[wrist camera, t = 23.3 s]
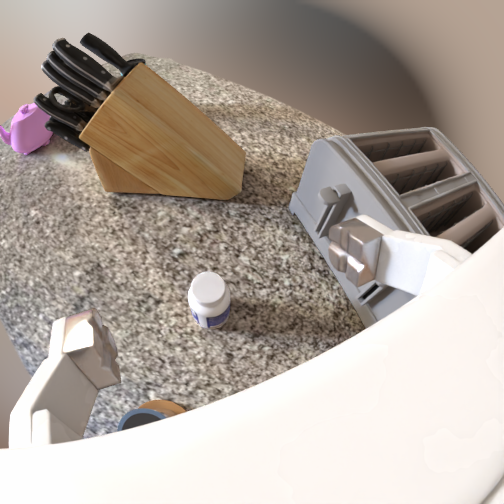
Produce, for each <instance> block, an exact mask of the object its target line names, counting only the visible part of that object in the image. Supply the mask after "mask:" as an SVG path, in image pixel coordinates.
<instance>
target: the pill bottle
mask: <svg viewBox="0 0 504 504" xmlns="http://www.w3.org/2000/svg"><path fill="white" fill-rule="evenodd" d="M230 300H231V296H230V291H229V288H228V287H227V285H226V284H225V282H224V280H223V278H222V277H221V276H220V275H218V274H217V273H214V272H202V273H200V274H198V275H197V276H196V277H195V278H194V279H193V281H192V284H191V287H190V289H189V293H188V301H189V305H190V308H191V312H192V315H193V318H194V320H195V321H196V322H197V324H199V325H200V326H201V327H203V328H206V329H216V328H219V327H221V326H222V325H224V324H225V323H226V321H227V320H228V317H229V313H230Z"/></svg>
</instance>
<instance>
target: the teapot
mask: <svg viewBox="0 0 504 504" xmlns="http://www.w3.org/2000/svg"><path fill="white" fill-rule="evenodd" d="M49 118H50V116H49V115H48V114H46V113H45V112H44V111H42V110H41V109H40V108H39V107H38V106H37V105H36V104H35V103H33V104H30V105H28V104H25V105H23V106H22V107H21V108H20V109H19V112H18V113H17V114H16V115H15V116H14V117H13V119H12V123H11V130H10V133H7V132H6V131H5V130H4V129H3V127H2V126H1V125H0V136H1V138H2V140H3V141H4V142H5V143H6V144H8V145H12V148H13V149H14V150H15V151H16V152H19V153H25V155H28V154H29V153H30V152H31V151H34V150H36V149H37V148H39V147H40V146H42V145H43V146H45V145H47V144H48V143H49V142H50V140H49V139H50V137H51V136H52V135H53V132H51V131H48V130H47V129H46V128H45V126H44V125H45V123H46V122H47V121H49Z"/></svg>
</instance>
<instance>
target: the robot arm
mask: <svg viewBox="0 0 504 504" xmlns="http://www.w3.org/2000/svg"><path fill="white" fill-rule="evenodd" d="M329 238H330V239H331V241H332V242H331V244H330V246H329V247H328V256H329V259H330V262H331V264H332V265H333V267H334V268H335V269H336V270H337V271H339V272H343V273H345V275H346V278H347V279H348V280H349V281H350V282H351V283H353V284H354V285H355V286H356V287H357V288H358V287H360V286H362V285H365V284H367V283H369V282H371V281H373V280H375V281H378V282H381V283H383V284H386V285H389V286H391V287H394V288H397V289H400V290H402V291H405V292H408V293H411V294H413V295H416V297H415V298H413V299H412V300H411V301H409V302H408V303H406V304H405V305H403V306H402V307H400V308H399V309H397V310H396V311H394V312H392V313H391V314H389V315H388V316H386V317H385V318H383V319H381V320H380V321H378V322H377V323H375V324H373V325H372V326H370V327H368V328H367V329H365V330H363V331H362V332H360V333H358V334H357V335H355V336H353V337H351V338H350V339H348V340H346V341H344V342H343V343H341V344H339V345H337V346H335V347H333V348H332V349H330V350H328V351H326V352H324V353H322V354H320V355H318V356H316V357H315V358H313V359H311V360H309V361H307V362H305V363H303V364H301V365H299V366H297V367H295V368H292V369H290V370H288V371H286V372H284V373H282V374H280V375H278V376H275V377H273V378H271V379H269V380H267V381H264V382H262V383H260V384H257V385H255V386H253V387H250V388H248V389H246V390H243V391H241V392H238V393H236V394H233V395H231V396H228V397H226V398H223V399H221V400H218V401H215V402H213V403H210V404H207V405H205V406H202V407H199V408H196V409H193V410H190V411H187V412H184V413H181V414H178V415H175V416H172V417H169V418H166V419H163V420H159V421H156V422H152V423H149V424H145V425H142V426H138V427H134V428H131V429H127V430H123V431H119V432H114V433H110V434H106V435H101V436H96V437H92V438H86V439H84V438H83V435H84V432H85V429H86V426H87V423H88V420H89V417H90V414H91V411H92V408H93V406H94V403H95V400H96V397H97V395H98V392H99V391H98V390H100V389H103V388H106V387H109V386H112V385H116V384H119V383H121V377H120V369H119V365H118V364H117V362H116V361H115V359H116V357H117V356H118V354H117V347H116V344H115V341H114V338H113V336H112V334H111V332H110V330H109V328H108V327H106V326H104V325H102V317H101V315H100V314H99V312H98V310H97V309H95V308H92V309H89V310H85V311H82V312H79V313H76V314H73V315H70V316H68V317H64V318H61V319H58V320H55V321H54V322H53V325H52V332H51V339H50V347H49V355H48V359H44V361H43V362H42V364H41V365H40V367H39V368H38V370H37V372H36V373H35V375H34V376H33V378H32V379H31V381H30V383H29V384H28V386H27V387H26V389H25V391H24V392H23V394H22V396H21V397H20V399H19V400H18V402H17V404H16V406H15V407H14V409H13V411H12V413H11V415H10V433H9V449H0V504H504V227H503V228H502V229H501V230H500V231H499V232H497V233H496V234H495V235H494V236H493V237H492V238H491V239H490V240H489V241H487V242H486V243H485V244H484V245H483V246H482V247H480V248H479V249H478V250H477V251H476V252H475V253H473V254H471V253H470V252H468V251H467V250H465V249H464V248H462V247H461V246H459V245H457V244H456V243H454V242H453V241H451V240H446V239H442V238H437V237H432V236H427V235H422V234H416V233H411V232H406V231H400V230H395V231H394V230H392V229H390V228H388V227H387V226H385V225H383V224H382V223H380V222H378V221H376V220H375V219H373V218H371V217H369V216H368V215H364V214H362V215H359V216H357V217H354V218H352V219H350V220H347V221H344V222H341V223H339V224H336V225H333V226H331V227H330V229H329Z"/></svg>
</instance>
